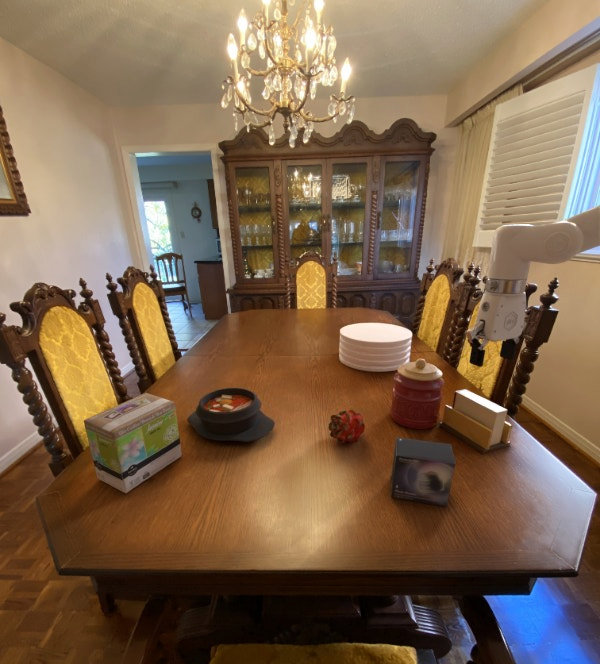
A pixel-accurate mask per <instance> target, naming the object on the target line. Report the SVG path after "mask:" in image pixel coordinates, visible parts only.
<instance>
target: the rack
mask: <svg viewBox="0 0 600 664" xmlns="http://www.w3.org/2000/svg"><path fill="white" fill-rule="evenodd" d="M438 426H439V427H441V428H442V429H443V430H445V431H447V432H448V433H449V434H451V435H452V436H454V437H456V438H457V439H459V440H460V441H462V442H463V443H465V444H467V445H468V446H470V447H471V448H472V449H474V450H476V451H477V452H478V453H480V454H482V455H485V454H489V453H491V452H494V451H498V450H500V449H501V450H502V449H505V448H507V447H509V446H511V444H512V443H511V441H510V438H511V437H510V436H511V433H512V430H513V429H512V428H513V424H511V423H510V422H508V421H506V420H505V423H504V427H503V431H502V436H501V440H500V443H497V444H494V445H491V446H490V443H491V438H492V434H493V431H492V430H491V429H489V428H487V427H485V426H484V425H482V424H480V423H478V422H477V421H475V420H473V419H471V418H470V417H468V416H466V415H464V414H463V413H461V412H459V411H457V410H456V409H454V408H452V406H450V405H449V404H445V405H444V411H443V417H442V421H441V422H439V425H438Z"/></svg>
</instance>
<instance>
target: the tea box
mask: <svg viewBox="0 0 600 664" xmlns="http://www.w3.org/2000/svg"><path fill="white" fill-rule="evenodd" d="M83 423H84V429H85V433H86V437H87V442H88V445H89V450H90V454H91V458H92V462H93V465H94V470H95V474H96V477H97V479H98V480H100V481H101V482H103V483H105V484H107V485H109V486H110V487H113V488H115V489H116V490H118V491H120V492H122V493H125V494H128V493H129V492H130V491H132V490H133V489H134V488H136V487H138V486H139V485H140V484H142V483H143V482H145V481H146V480H148V479H150V478H151V477H152V476H154V475H156V474H157V473H159V472H161V470H163V469H165V468H166V467H167V466H169V465H170V464H172V463H174V462H176V461H177V460H178V459H180V458H181V457H182V456H183V454H182V453H183V452H182V445H181V438H180V431H179V425H178V417H177V411H176V405H175V401H174V400H173V401H172V400H170V399H167V398H163V397H160V396H157V395H154V394H150V393H148V392H144V393H142V394H140V395H138V396H136V397H133V398H130V399H129V400H126V401H125V402H122V403H120V404H118V405H115V406H113V407H111V408H108V409H105V410H103V411H101V412H99V413H97V414H94V415H92V416H90V417H88V418H85V419H83Z"/></svg>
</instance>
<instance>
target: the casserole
mask: <svg viewBox="0 0 600 664" xmlns="http://www.w3.org/2000/svg"><path fill="white" fill-rule="evenodd" d="M261 408H262V402H261V400H260V399H259V398H258V396H257V394H256V393H255V392H254V391H252V390H250V389H247V388H243V387H226V388H219V389H216V390H213V391H211V392H208V393H206V394H205V395H203V396H202V397H201V398H200V400H199V401H198V405H197V406H196V407H195V410H194V411H193V412H191V414H189V416H188V417H187V418H186V420H187V423H188V424H189V425H191V426H192V427H193V428H194V430H195V432H196V433H197V434H198V435H199V436H200V437H203V438H204V439H208V440H213V441H235V442H246V443H249V442H250V443H251V442H254V441H257V440H260V439H262V438H264V437H266V436H267V435H269V434H270V433H271V432H272V431H273V430H274V428H275V425H276V422H275V420H274V419H272V418H270V417H269V416H267V415H266V414H265V413H264V412H263V411H261Z"/></svg>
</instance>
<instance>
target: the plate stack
mask: <svg viewBox="0 0 600 664" xmlns="http://www.w3.org/2000/svg"><path fill="white" fill-rule="evenodd" d="M412 338H413V332H412V331H411V330H410V329H408V328H406V327H403V326H400V325H396V324H391V323H383V322H360V323H359V322H358V323H352V324H348V325H345V326H343V327H341V328H340V329H339V350H338V353H339V354H338V360H339V361H340V362H341V363H342V364H343V365H345V366H347V367H349V368H352V369H355V370H360V371H365V372H378V373H381V372H393V371H398V367H400V366H401V365H404V364H405V363H408V362H410V357H411V350H412V348H411V347H412V340H413V339H412Z"/></svg>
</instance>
